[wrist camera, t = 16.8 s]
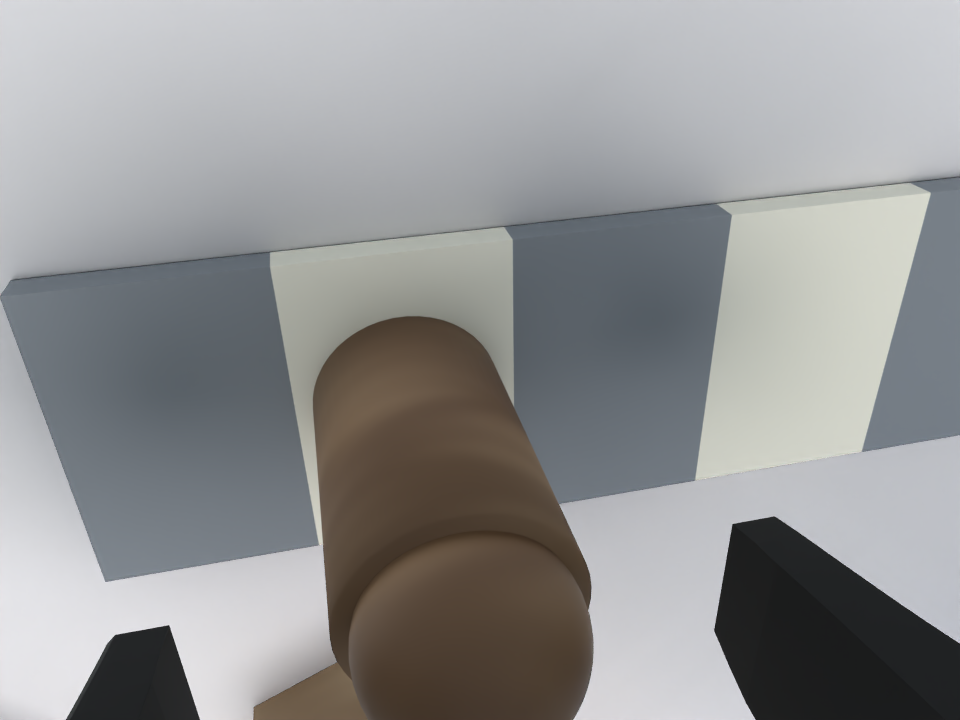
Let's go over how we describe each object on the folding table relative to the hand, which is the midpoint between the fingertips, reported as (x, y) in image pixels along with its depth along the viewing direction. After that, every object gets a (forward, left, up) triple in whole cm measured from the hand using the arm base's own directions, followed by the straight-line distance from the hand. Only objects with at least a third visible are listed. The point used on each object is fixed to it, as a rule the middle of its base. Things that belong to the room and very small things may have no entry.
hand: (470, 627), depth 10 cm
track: (-6, 0, -6) cm, 8 cm away
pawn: (0, 0, -5) cm, 5 cm away
